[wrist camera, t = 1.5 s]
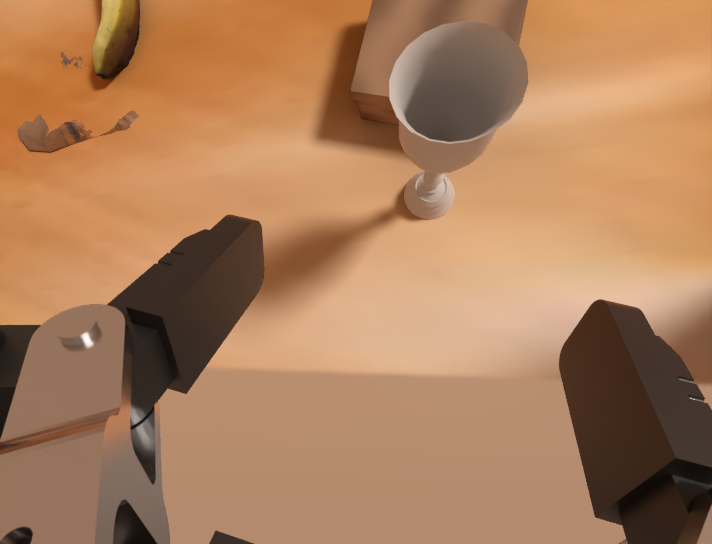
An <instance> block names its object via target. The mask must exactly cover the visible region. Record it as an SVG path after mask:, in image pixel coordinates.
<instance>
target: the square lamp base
mask: <svg viewBox="0 0 712 544" xmlns="http://www.w3.org/2000/svg"><path fill="white" fill-rule="evenodd" d="M527 2H528V0H373V1H372V5H371V9H370V13H369V17H368V21H367V25H366V29H365V33H364V37H363V41H362V45H361V49H360V53H359V57H358V62H357V66H356V70H355V74H354V78H353V82H352V86H351V90H350V92H351V97H352V101H358V104H359V109H360V114H361V119H366V120H372V121H378V122H385V123H391V124H397V125H399V119H398V118H397V117H396V114H395V112H394V109H393V107H392V104H391V102H390V99H389V80H390V77H391V74H392V71H393V68H394V65H395V62H396V61H397V59H398V58H399V56H400V55H401V54H402V52H403V51H404V50H405V48H406V47H407V46H408V45H409V44H410V43H411V42H413V41H414V40H415V39H416V38H418V37H419V36H420V35H422V34H423V33H424V32H427V31H429V30H431V29H434V28H436V27H438V26H440V25H443V24H448V23H454V22H461V21H469V22H478V23H486V24H488V25H490V26H492V27H495V28H497V29H499V30H502V31H504V32H505V33H506V34H507V35H508V36H509V37H510V38H511V39H513V40H514V41H515V42H516V43H517V44H518V45H519V42H520V37H521V32H522V27H523V22H524V17H525V12H526V7H527Z"/></svg>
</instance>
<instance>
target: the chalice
mask: <svg viewBox="0 0 712 544" xmlns="http://www.w3.org/2000/svg"><path fill="white" fill-rule="evenodd" d="M527 84H528V72H527V62H526V60H525V58H524V56H523V53H522V51H521V49H520V47H519V45H518V44H517V43H516V42H515V41H514V40H513V39H511V38H510V37H509V36H508V35H507V34H506V33H505V32H504V31H502V30H499V29H497V28H495V27H492V26H490V25H488V24H486V23H478V22H469V21H461V22H454V23H448V24H443V25H440V26H438V27H436V28H434V29H431V30H429V31H427V32H424V33H423V34H422V35H420V36H419V37H418V38H416V39H415V40H414V41H413V42H411V43H410V44H409V45H408V46H407V47H406V48H405V50H404V51H403V52H402V54H401V55H400V56H399V58H398V59H397V61H396V62H395V65H394V68H393V71H392V74H391V77H390V80H389V99H390V102H391V104H392V107H393V109H394V112H395V114H396V117H397V118H398V119H399V141H400V144H401V146H402V149H403V151H404V153H405V154H406V155H407V156H408V157H409V158H410V159H411V161H412V162H413V163H414V164H415V165H417V166H418V167H419V168H421V169H423V170H425V171H424V172H421V173H419V174H416V175H415V176H414V177H412V178H411V179H410V180H409V182H408V183H407V185H406V187H405V190H404V202H405V204H406V206H407V208H408V209H409V211H410V212H411V213H412V214H414V215H415V216H417V217H419V218H423V219H436V218H438V217H441V216H443V215H444V214H445V213H447V212H448V211H449V209H450V208H451V206H452V205H453V202H454V198H455V191H454V187H453V185H452V183H451V181H450V180H449V179H448V178H447V177H446V176H445V175H444V173H450V172H452V171H455V170H457V169H460V168H462V167H464V166H466V165H468V164H470V163H471V162H473V161H474V160H475V159H476V158H478V157H479V156H480V155H481V154H482V153H483V152H484V150H485V149H486V147H487V146H488V145H489V143H490V141H491V139H492V137H493V135H494V133H495V132H496V130H497V129H498V128H499V127H500V126H502V125H503V124H504V123H505V122H507V121H508V120H509V119H510V118H511V117H512V115H513V114H514V112H515V111H516V110H517V108H518V107H519V105H520V104H521V103H522V101H523V97H524V94H525V91H526V88H527Z"/></svg>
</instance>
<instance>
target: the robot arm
mask: <svg viewBox="0 0 712 544" xmlns="http://www.w3.org/2000/svg"><path fill="white" fill-rule="evenodd" d="M263 278H264V255H263V239H262V227H261V224H260V222H259V221H256V220H251V219H247V218H243V217H238V216H234V215H227V216H225V217H224V218H223V219H222V220H221V221H220V222H218V223H217V224H216V225H215V226H214V227H213V228H212V229H211V230H206V229H204V230H202V231H200V232H198V233H195V234H193V235H191V236H188V237H186V238H184V239H183V240H182V241H181V242H180V243H179V244H177V245H176V246H175V247H174V248H173V249H172V250H171V252H170V253H167V254H166V255H165V256H163V257H162V258H161V259H160V260H159V261H158V264H154V265H153V266H152V267H151V268H149V269H148V270H147V271H146V272H145V273H144V274H142V275H141V276H140V277H139V278H138V279H137V280H135V281H134V282H133V283H132V284H131V285H130V286H128V287H127V288H126V289H125V290H124V291H123V292H121V293H120V294H119V295H118V296H117V297H115V298H114V299H113V300H112V301H111V302H110V303H108V304H107V305H102V304H90V305H83V306H79V307H75V308H71V309H68V310H66V311H63V312H61V313H59V314H57V315H55V316H53V317H52V318H50V319H49V320H47V321H46V322H45V323H43V324H42V325H0V544H170V535H169V525H168V518H167V513H166V508H165V505H164V499H163V492H162V472H161V438H160V408H159V403H158V400H159V399H160V397H161V396H162V395H163V393H164V392H165V391H166V390H167V388H168V389H171V390H175V391H178V392H181V393H185V394H187V392H188V391H189V389H190V388H191V387H192V385H193V384H194V382H195V381H196V379H197V378H198V377H199V375H200V373H201V372H202V371H203V370H204V368H205V367H206V365H207V364H208V363H209V361H210V360H211V358H212V357H213V355H214V354H215V353H216V351H217V350H218V348H219V347H220V346H221V344H222V343H223V341H224V340H225V339H226V337H227V336H228V334H229V333H230V332H231V330H232V329H233V327H234V326H235V324H236V323H237V322H238V320H239V319H240V317H241V316H242V315H243V313H244V312H245V310H246V309H247V308H248V306H249V305H250V303H251V302H252V300H253V299H254V298H255V296H256V295H257V293H258V292H259V290H260V288H261V285H262V282H263ZM559 369H560V374H561V378H562V382H563V386H564V390H565V394H566V399H567V403H568V407H569V411H570V415H571V419H572V424H573V428H574V432H575V436H576V440H577V444H578V448H579V452H580V457H581V460H582V465H583V469H584V473H585V477H586V481H587V486H588V490H589V494H590V498H591V502H592V506H593V510H594V515H595V517H596V518H599V519H603V520H606V521H609V522H613V523H616V524H619V525H623V529H624V532H625V536H626V539H625V540H623V541H622V542H621V543H619V544H712V410H711V408H710V407H709V405H708V404H707V403H704V399H705V398H704V397H703V395H702V393H701V391H700V389H699V388H698V386H697V384H693V380H694V379H693V378H692V376H691V374H690V372H689V371H688V369H687V367H686V366H685V364H684V362H683V360H682V359H681V357H680V356H679V355H678V354H677V353H676V352H675V351H674V350H673V349H672V348H671V347H670V346H669V345H668V344H667V343H666V342H665V341H664V340H663V339H662V338H661V337H660V336H655V334H654V332H653V330H652V329H651V327H650V325H649V323H648V321H647V319H646V318H645V316H644V314H643V312H642V311H641V310H640V309H638V308H636V307H632V306H627V305H623V304H618V303H614V302H610V301H605V300H597V301H595V302H594V303H593V304H592V305H591V306H590V307H589V309H588V310H587V311H586V313H585V314H584V316H583V317H582V319H581V320H580V322H579V323H578V325H577V326H576V327H575V329H574V330H573V332H572V333H571V335H570V336H569V338H568V339H567V341H566V342H565V344H564V345H563V348H562V350H561V353H560V359H559ZM210 544H253V543H250V542H247V541H244V540H241V539H238V538H236V537H233V536H230V535H227V534H224V533H221V532H218V531H215V533H214V535H213V537H212V539H211V541H210Z"/></svg>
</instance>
